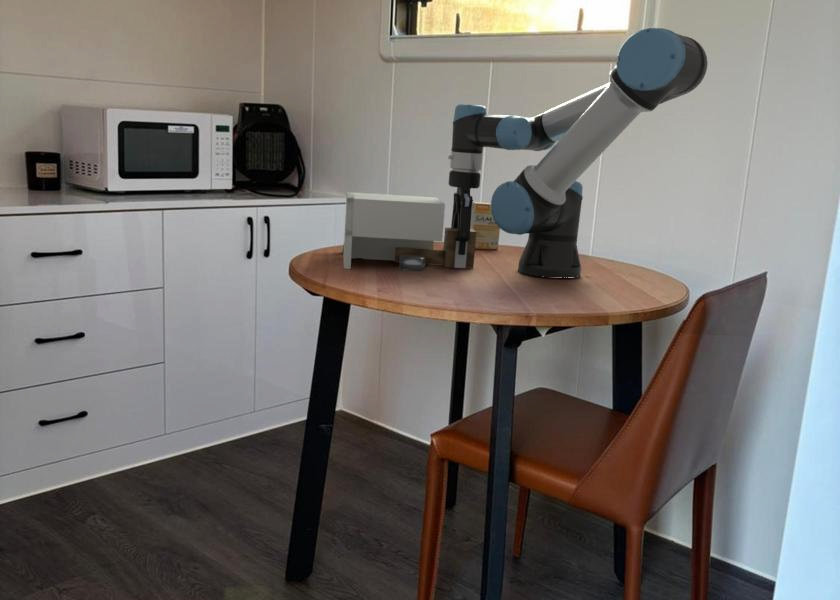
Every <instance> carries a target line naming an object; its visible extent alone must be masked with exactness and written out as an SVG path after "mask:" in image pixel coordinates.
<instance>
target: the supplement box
mask: <svg viewBox="0 0 840 600" xmlns="http://www.w3.org/2000/svg"><path fill="white" fill-rule="evenodd" d="M491 210H492V206H491V202H481V201H480V202H478V201H473V202H472V211H471V226H470V229H474V230H475V231H476V232H477V233H476V244H475V250H493V249H496V250H495V251H498V250H499V241H500V232H501V231H500V230H501V229H500V228H499V227H498V225H497V224H496V222H495V221H494V219H493V216H492V212H491Z"/></svg>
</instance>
